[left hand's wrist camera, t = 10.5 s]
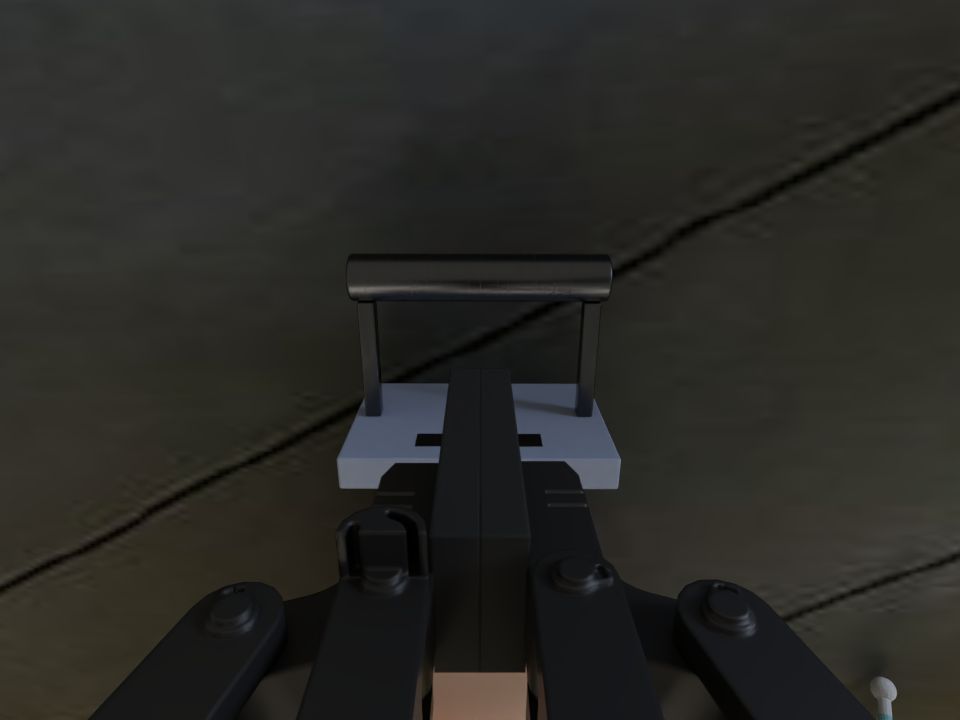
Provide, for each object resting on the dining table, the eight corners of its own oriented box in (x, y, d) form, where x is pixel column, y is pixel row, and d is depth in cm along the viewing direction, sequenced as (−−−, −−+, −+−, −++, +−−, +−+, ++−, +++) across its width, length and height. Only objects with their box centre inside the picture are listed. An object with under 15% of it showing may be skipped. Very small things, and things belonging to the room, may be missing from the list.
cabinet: (371, 519, 29) (331, 659, 21) (585, 519, 29) (624, 659, 21) (389, 744, 34) (363, 918, 27) (567, 744, 34) (592, 919, 27)
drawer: (359, 239, 23) (317, 275, 17) (599, 240, 23) (640, 276, 17) (388, 643, 30) (366, 765, 24) (568, 643, 30) (589, 766, 24)
